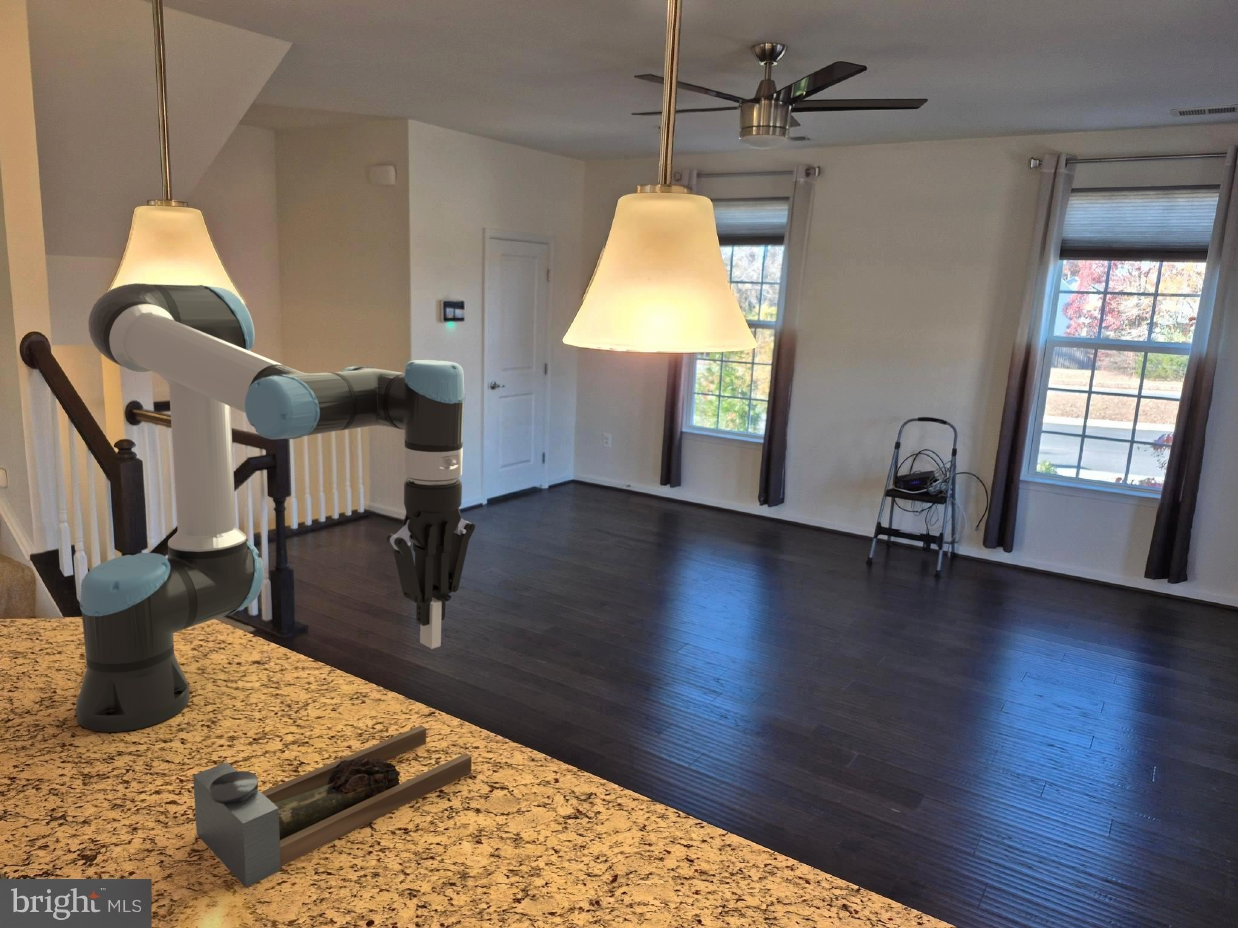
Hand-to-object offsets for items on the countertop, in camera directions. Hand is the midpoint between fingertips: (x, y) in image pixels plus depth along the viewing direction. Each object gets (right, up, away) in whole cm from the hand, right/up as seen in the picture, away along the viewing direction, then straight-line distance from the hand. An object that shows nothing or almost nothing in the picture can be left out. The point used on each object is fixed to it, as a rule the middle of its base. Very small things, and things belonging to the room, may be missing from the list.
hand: (430, 643), depth 115 cm
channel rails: (-8, -19, -5) cm, 21 cm away
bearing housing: (-19, -21, -17) cm, 33 cm away
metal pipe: (-11, -20, -9) cm, 24 cm away
